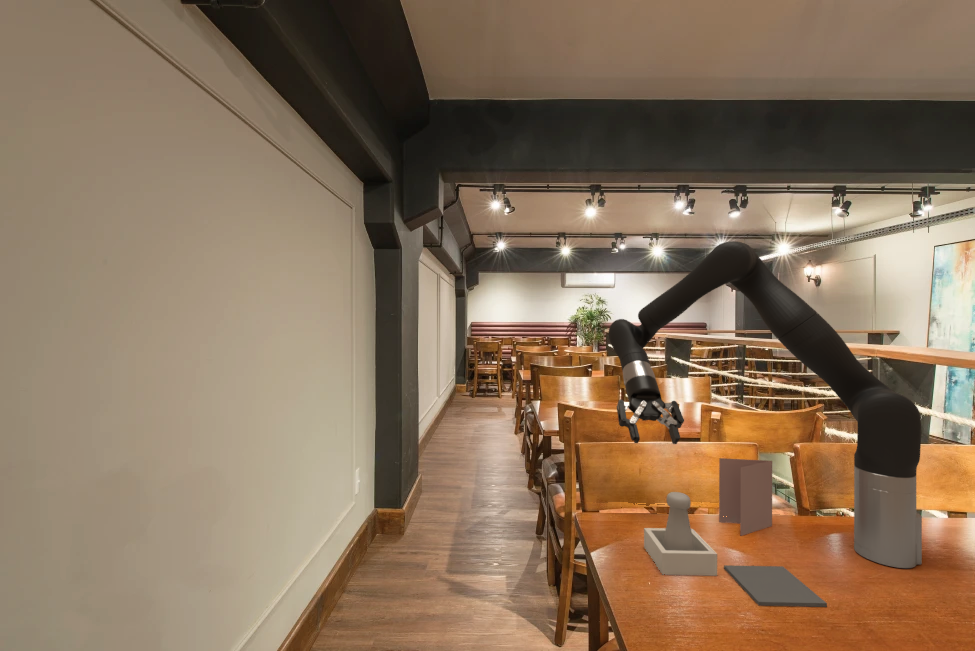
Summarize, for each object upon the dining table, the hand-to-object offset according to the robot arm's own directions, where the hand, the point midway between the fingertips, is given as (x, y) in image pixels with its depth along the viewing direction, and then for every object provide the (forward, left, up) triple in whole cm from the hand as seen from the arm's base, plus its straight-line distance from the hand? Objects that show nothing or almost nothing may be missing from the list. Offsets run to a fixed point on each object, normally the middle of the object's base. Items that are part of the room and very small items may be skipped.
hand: (656, 441), depth 97 cm
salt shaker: (0, +12, -20) cm, 24 cm away
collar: (0, +12, -20) cm, 23 cm away
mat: (-13, +20, -20) cm, 31 cm away
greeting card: (-22, -2, -20) cm, 30 cm away
